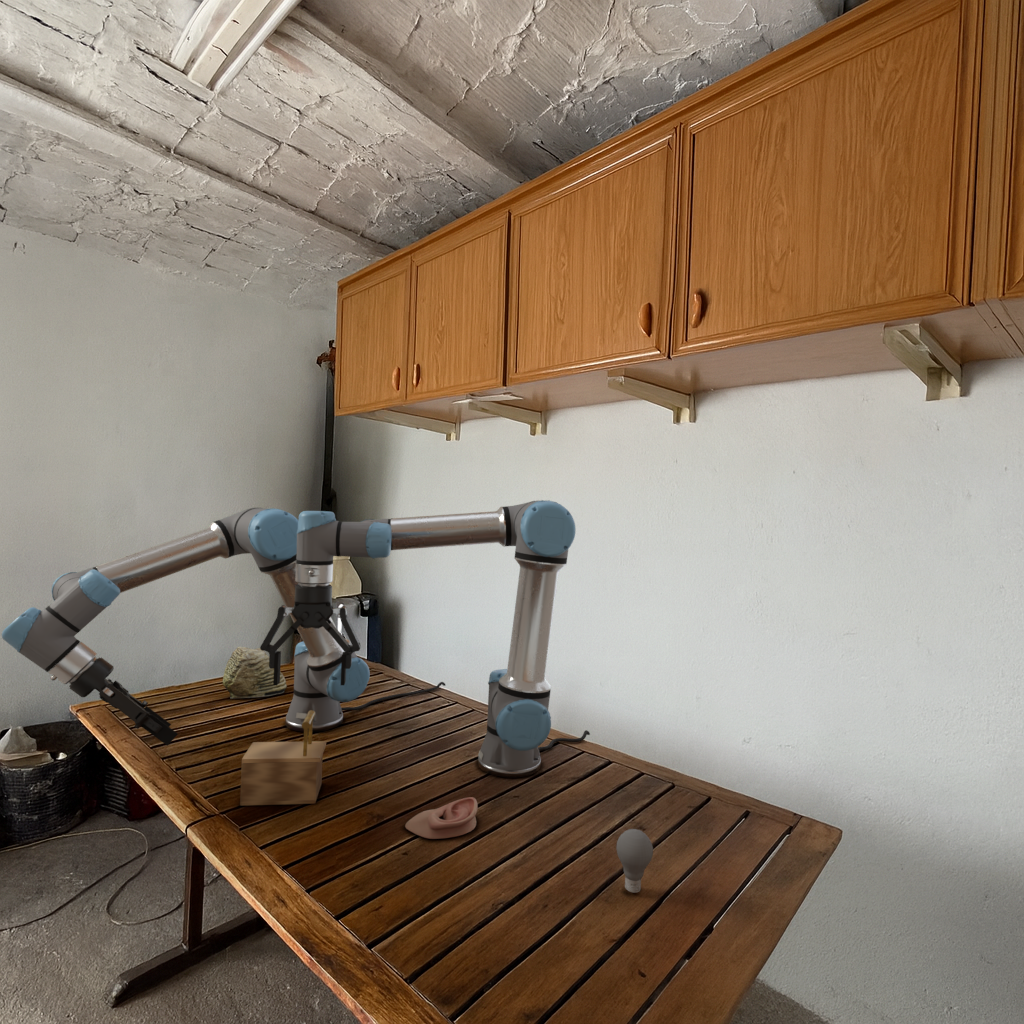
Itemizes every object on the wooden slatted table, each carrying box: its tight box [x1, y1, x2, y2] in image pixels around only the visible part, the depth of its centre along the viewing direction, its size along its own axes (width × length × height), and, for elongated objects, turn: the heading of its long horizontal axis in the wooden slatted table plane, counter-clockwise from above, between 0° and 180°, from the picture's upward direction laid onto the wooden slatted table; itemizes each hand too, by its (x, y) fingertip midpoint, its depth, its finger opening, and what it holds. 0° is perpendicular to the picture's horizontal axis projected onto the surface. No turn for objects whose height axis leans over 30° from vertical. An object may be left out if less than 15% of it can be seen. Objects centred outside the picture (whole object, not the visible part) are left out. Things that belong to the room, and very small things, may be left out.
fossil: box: [222, 646, 288, 699], centre depth 198 cm, size 9×18×15 cm, turn 132°
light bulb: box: [615, 828, 654, 894], centre depth 106 cm, size 6×6×10 cm
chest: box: [239, 754, 324, 807], centre depth 134 cm, size 15×9×9 cm, turn 99°
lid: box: [241, 710, 327, 764], centre depth 134 cm, size 15×9×8 cm, turn 99°
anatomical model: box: [404, 796, 479, 840], centre depth 124 cm, size 13×4×12 cm
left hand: (169, 734), depth 132 cm, fingers open, 13 cm apart
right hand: (310, 683), depth 134 cm, fingers open, 13 cm apart
